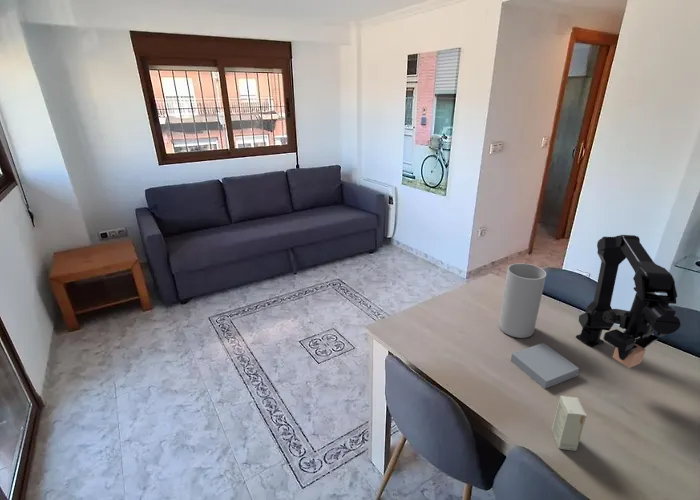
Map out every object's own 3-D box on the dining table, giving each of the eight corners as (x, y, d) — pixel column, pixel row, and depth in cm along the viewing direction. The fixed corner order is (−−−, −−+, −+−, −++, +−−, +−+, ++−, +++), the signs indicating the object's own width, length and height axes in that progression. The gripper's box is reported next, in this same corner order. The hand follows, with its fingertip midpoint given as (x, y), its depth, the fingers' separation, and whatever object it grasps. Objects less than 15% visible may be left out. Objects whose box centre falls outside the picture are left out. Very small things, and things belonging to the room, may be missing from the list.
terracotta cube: (623, 352, 112) (628, 339, 110) (640, 363, 107) (645, 349, 105) (612, 357, 110) (616, 343, 108) (629, 367, 106) (634, 354, 104)
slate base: (541, 349, 129) (543, 342, 128) (577, 375, 117) (579, 368, 116) (510, 360, 125) (511, 353, 123) (544, 388, 113) (546, 381, 112)
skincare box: (576, 451, 93) (588, 417, 88) (558, 449, 94) (568, 414, 89) (568, 430, 99) (578, 396, 94) (550, 428, 100) (560, 394, 95)
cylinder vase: (539, 338, 135) (553, 279, 125) (505, 339, 135) (515, 279, 125) (525, 319, 146) (536, 263, 136) (493, 319, 147) (502, 263, 137)
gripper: (635, 291, 112) (621, 333, 118) (592, 305, 106) (580, 348, 112) (676, 310, 102) (659, 354, 109) (632, 326, 96) (616, 372, 103)
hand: (627, 356), depth 108 cm, fingers closed on terracotta cube, 5 cm apart
